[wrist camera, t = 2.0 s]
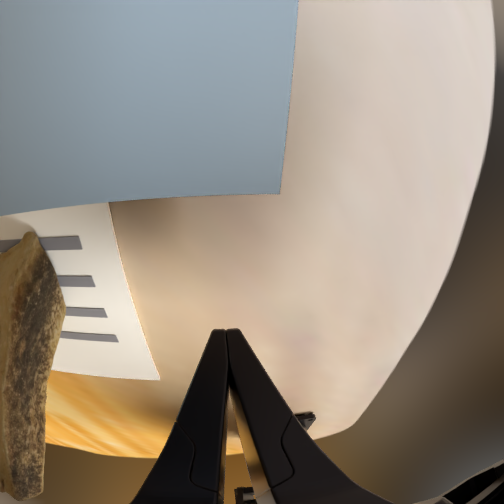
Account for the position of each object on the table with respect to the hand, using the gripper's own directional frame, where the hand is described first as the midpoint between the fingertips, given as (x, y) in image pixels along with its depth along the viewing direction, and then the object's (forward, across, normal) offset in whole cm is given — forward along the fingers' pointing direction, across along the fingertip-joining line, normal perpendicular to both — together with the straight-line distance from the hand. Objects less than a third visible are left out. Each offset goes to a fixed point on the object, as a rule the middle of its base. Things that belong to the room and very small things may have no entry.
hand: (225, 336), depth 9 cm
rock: (+3, +12, +2) cm, 13 cm away
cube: (+3, +2, -8) cm, 9 cm away
